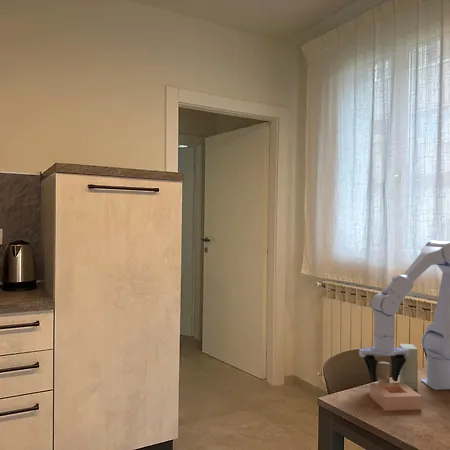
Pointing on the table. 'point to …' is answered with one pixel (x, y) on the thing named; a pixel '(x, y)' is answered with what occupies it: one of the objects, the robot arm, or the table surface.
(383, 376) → the beech peg
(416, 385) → the skincare box
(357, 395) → the table surface
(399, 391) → the socket block
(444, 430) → the table surface
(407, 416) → the table surface
